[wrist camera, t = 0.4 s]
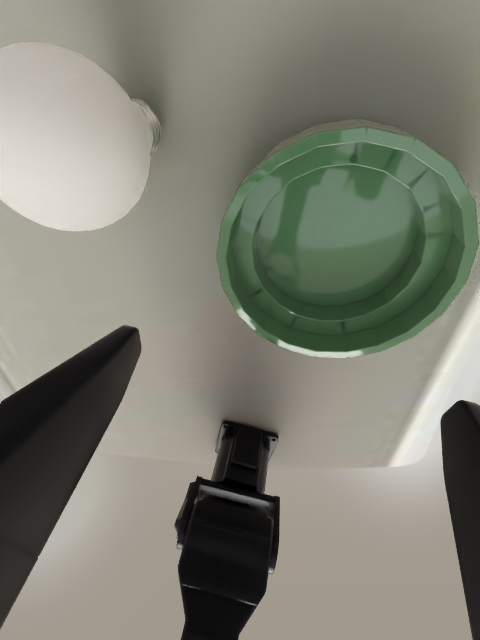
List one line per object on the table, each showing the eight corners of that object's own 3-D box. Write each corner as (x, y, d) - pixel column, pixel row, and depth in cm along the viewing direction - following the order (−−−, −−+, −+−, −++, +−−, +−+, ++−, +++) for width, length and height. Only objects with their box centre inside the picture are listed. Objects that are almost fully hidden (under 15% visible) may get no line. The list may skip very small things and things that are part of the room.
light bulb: (122, 21, 16) (-93, -47, 8) (219, 123, 18) (135, 160, 10) (76, 131, 20) (-106, 169, 11) (161, 206, 22) (61, 287, 13)
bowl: (385, 339, 25) (396, 378, 22) (220, 297, 26) (206, 329, 22) (504, 150, 17) (551, 168, 13) (253, 94, 17) (238, 96, 14)
